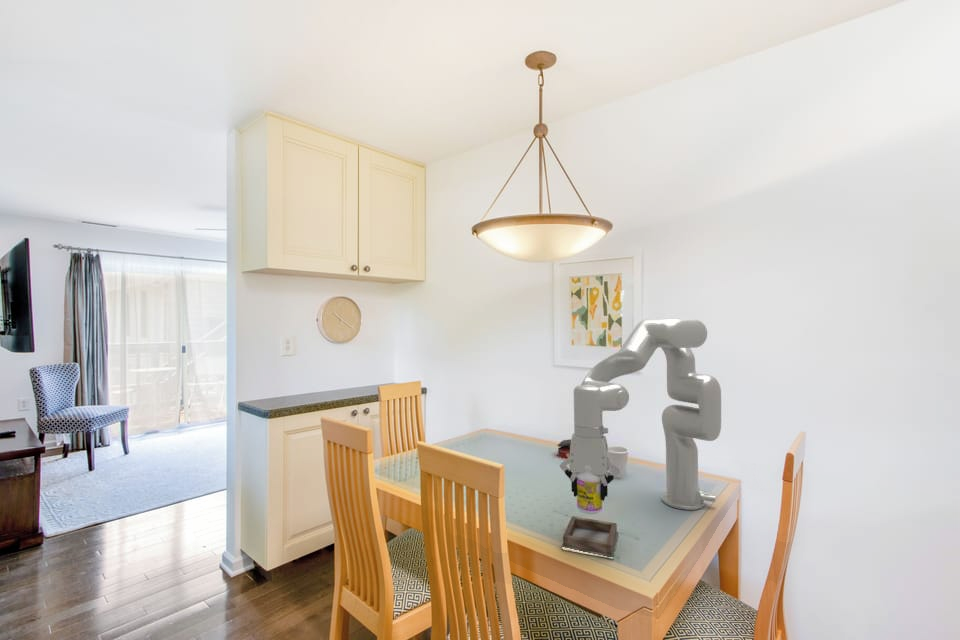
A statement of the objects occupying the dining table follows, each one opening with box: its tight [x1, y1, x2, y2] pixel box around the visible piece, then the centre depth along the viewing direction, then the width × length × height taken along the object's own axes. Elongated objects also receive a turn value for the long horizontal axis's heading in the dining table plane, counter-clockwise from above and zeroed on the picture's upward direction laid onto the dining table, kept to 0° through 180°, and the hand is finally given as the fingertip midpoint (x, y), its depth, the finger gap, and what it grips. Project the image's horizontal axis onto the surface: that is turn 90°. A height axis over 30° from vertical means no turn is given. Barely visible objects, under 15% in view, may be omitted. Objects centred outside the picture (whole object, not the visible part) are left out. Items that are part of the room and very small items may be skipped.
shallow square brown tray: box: [561, 515, 619, 558], centre depth 118 cm, size 13×13×4 cm
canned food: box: [556, 439, 571, 460], centre depth 191 cm, size 11×10×10 cm
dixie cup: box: [608, 445, 630, 479], centre depth 167 cm, size 8×8×10 cm
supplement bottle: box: [576, 465, 603, 515], centre depth 118 cm, size 7×7×13 cm
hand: (589, 496), depth 118 cm, fingers closed on supplement bottle, 6 cm apart
